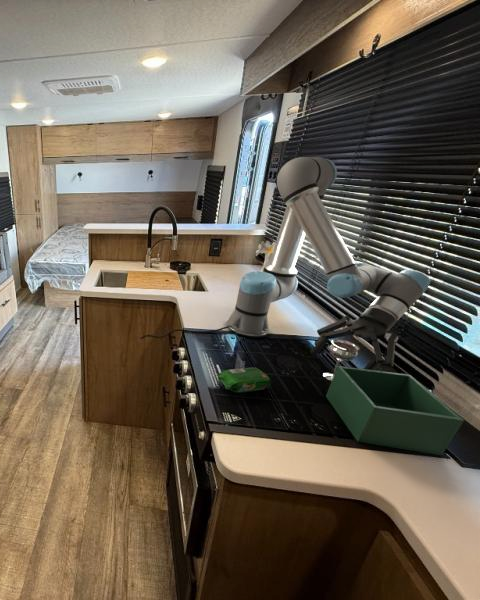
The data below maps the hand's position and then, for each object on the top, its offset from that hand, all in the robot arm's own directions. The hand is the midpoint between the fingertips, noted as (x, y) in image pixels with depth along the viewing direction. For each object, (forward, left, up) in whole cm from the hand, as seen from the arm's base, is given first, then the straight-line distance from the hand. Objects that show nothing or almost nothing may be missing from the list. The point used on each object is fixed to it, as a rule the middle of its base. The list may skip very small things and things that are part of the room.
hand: (334, 365), depth 95 cm
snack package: (-28, -11, -5) cm, 30 cm away
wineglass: (+1, +1, -5) cm, 6 cm away
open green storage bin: (+3, -18, -5) cm, 19 cm away
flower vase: (+2, +87, -5) cm, 87 cm away
